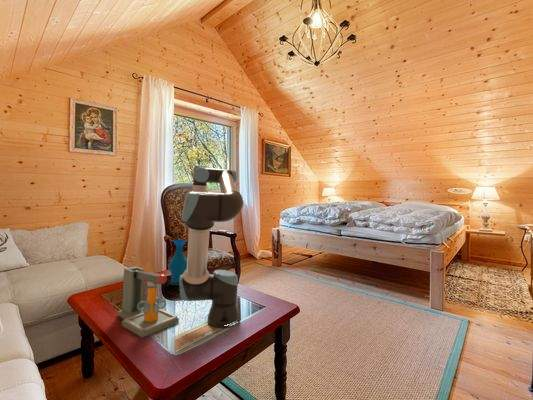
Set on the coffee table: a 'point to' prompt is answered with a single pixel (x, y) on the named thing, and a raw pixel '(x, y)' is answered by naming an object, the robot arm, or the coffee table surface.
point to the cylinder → (151, 305)
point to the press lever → (150, 278)
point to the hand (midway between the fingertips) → (197, 235)
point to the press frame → (135, 316)
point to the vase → (178, 262)
